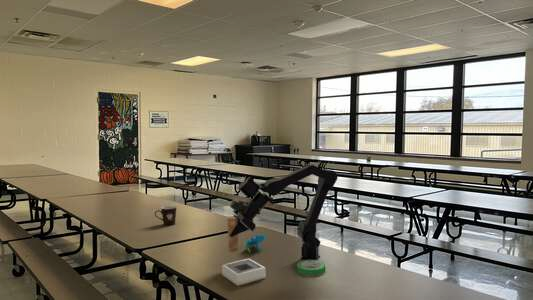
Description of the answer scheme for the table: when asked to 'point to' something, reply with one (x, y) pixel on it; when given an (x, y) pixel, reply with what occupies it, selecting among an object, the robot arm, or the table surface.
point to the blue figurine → (254, 242)
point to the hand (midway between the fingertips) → (229, 234)
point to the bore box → (243, 271)
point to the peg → (233, 240)
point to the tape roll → (311, 271)
